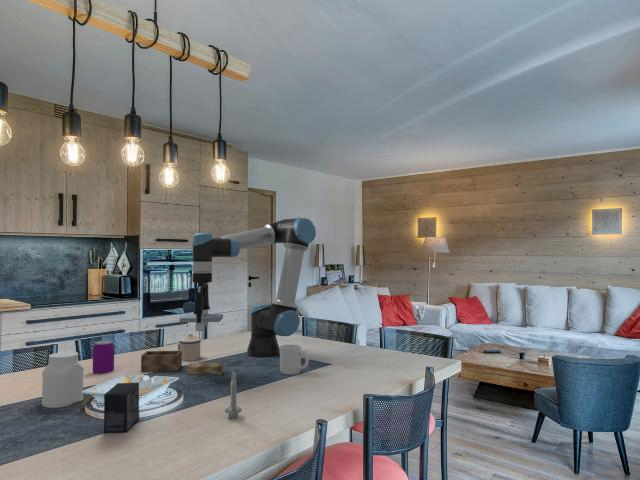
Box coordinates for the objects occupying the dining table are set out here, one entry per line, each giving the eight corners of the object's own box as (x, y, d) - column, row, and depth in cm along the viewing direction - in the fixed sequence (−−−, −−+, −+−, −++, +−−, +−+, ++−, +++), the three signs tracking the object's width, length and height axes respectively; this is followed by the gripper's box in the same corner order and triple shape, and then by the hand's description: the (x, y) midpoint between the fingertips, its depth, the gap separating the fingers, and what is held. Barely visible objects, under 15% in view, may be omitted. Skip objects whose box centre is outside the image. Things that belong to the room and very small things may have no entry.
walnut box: (181, 367, 189) (181, 350, 189) (177, 372, 181) (177, 355, 182) (146, 368, 188) (146, 351, 188) (140, 373, 180) (141, 355, 180)
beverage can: (117, 372, 181) (117, 342, 181) (97, 376, 176) (97, 344, 176) (109, 369, 186) (109, 339, 187) (89, 372, 181) (89, 342, 181)
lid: (223, 317, 187) (223, 312, 187) (219, 322, 176) (219, 316, 176) (185, 318, 186) (185, 312, 186) (179, 322, 175) (179, 316, 175)
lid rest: (222, 371, 184) (222, 362, 184) (221, 375, 178) (221, 366, 178) (189, 372, 182) (189, 363, 182) (186, 376, 176) (186, 367, 176)
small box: (116, 419, 132) (117, 382, 132) (139, 418, 132) (140, 381, 133) (102, 433, 121) (102, 393, 121) (127, 433, 122) (128, 393, 122)
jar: (59, 409, 139) (60, 359, 140) (35, 406, 142) (36, 357, 142) (89, 397, 150) (89, 351, 150) (66, 394, 153) (66, 349, 153)
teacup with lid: (205, 359, 204) (205, 333, 204) (189, 363, 196) (189, 336, 196) (185, 356, 210) (186, 330, 210) (170, 360, 202) (170, 333, 202)
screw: (243, 418, 132) (226, 421, 131) (239, 413, 137) (223, 415, 135) (243, 373, 133) (227, 375, 131) (239, 369, 137) (223, 370, 135)
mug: (312, 371, 184) (312, 346, 184) (304, 377, 177) (304, 350, 177) (285, 369, 189) (285, 343, 189) (276, 374, 181) (276, 347, 181)
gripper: (198, 270, 193) (197, 323, 192) (186, 274, 170) (186, 334, 169) (216, 270, 193) (216, 323, 193) (207, 273, 170) (206, 333, 170)
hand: (202, 328), depth 181 cm, fingers closed on lid, 10 cm apart
